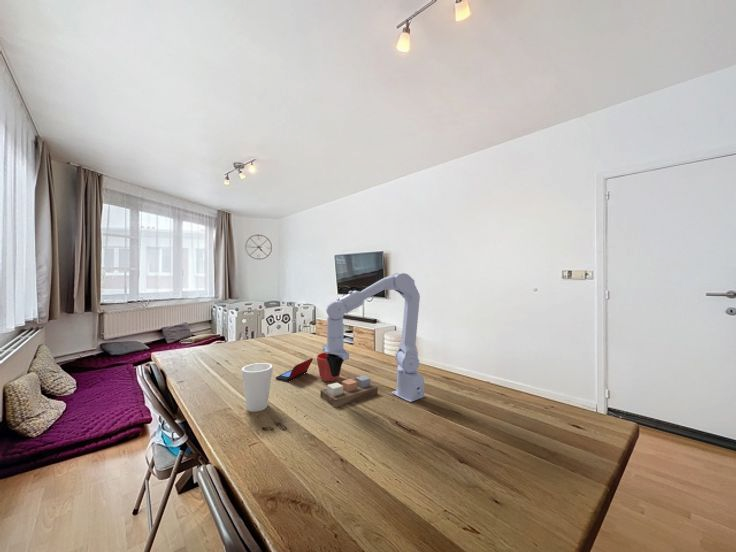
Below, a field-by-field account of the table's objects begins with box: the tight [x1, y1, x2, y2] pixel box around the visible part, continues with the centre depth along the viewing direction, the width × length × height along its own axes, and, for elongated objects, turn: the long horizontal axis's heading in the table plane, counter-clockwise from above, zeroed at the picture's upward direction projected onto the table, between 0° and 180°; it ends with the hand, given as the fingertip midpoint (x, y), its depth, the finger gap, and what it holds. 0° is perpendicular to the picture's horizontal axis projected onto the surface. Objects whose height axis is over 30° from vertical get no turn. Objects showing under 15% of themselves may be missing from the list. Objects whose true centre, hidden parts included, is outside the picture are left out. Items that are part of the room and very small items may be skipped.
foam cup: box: [240, 362, 274, 413], centre depth 93 cm, size 10×9×13 cm
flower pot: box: [316, 352, 343, 382], centre depth 119 cm, size 11×11×10 cm
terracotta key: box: [341, 378, 357, 392], centre depth 102 cm, size 4×4×3 cm
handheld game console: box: [275, 357, 314, 383], centre depth 121 cm, size 12×11×7 cm
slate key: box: [354, 375, 371, 388], centre depth 106 cm, size 4×4×3 cm
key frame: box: [320, 382, 379, 409], centre depth 102 cm, size 10×18×2 cm, turn 128°
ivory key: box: [326, 382, 343, 396], centre depth 99 cm, size 4×4×3 cm
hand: (335, 375), depth 99 cm, fingers closed
